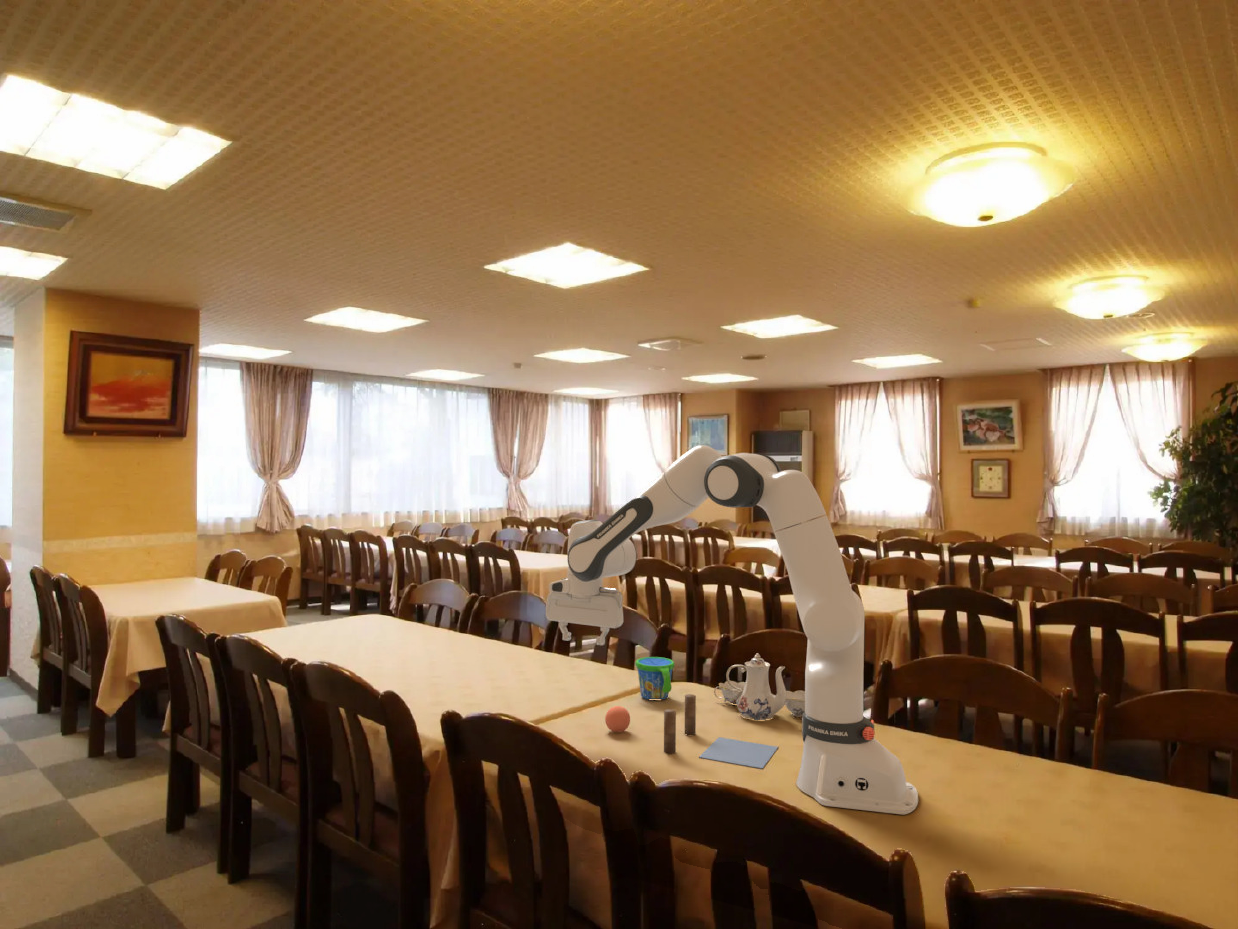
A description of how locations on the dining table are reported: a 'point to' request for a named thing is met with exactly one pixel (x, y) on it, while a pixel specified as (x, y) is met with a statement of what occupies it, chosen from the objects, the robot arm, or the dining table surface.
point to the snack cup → (654, 677)
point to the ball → (617, 719)
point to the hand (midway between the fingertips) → (583, 642)
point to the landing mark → (739, 752)
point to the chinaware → (761, 692)
